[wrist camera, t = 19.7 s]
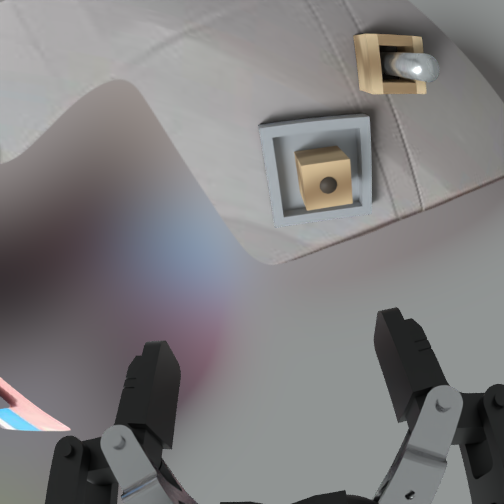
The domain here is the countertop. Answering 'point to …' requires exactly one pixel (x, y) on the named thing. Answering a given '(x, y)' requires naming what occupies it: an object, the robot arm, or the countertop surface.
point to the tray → (311, 137)
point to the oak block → (372, 65)
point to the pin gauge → (410, 65)
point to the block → (324, 177)
